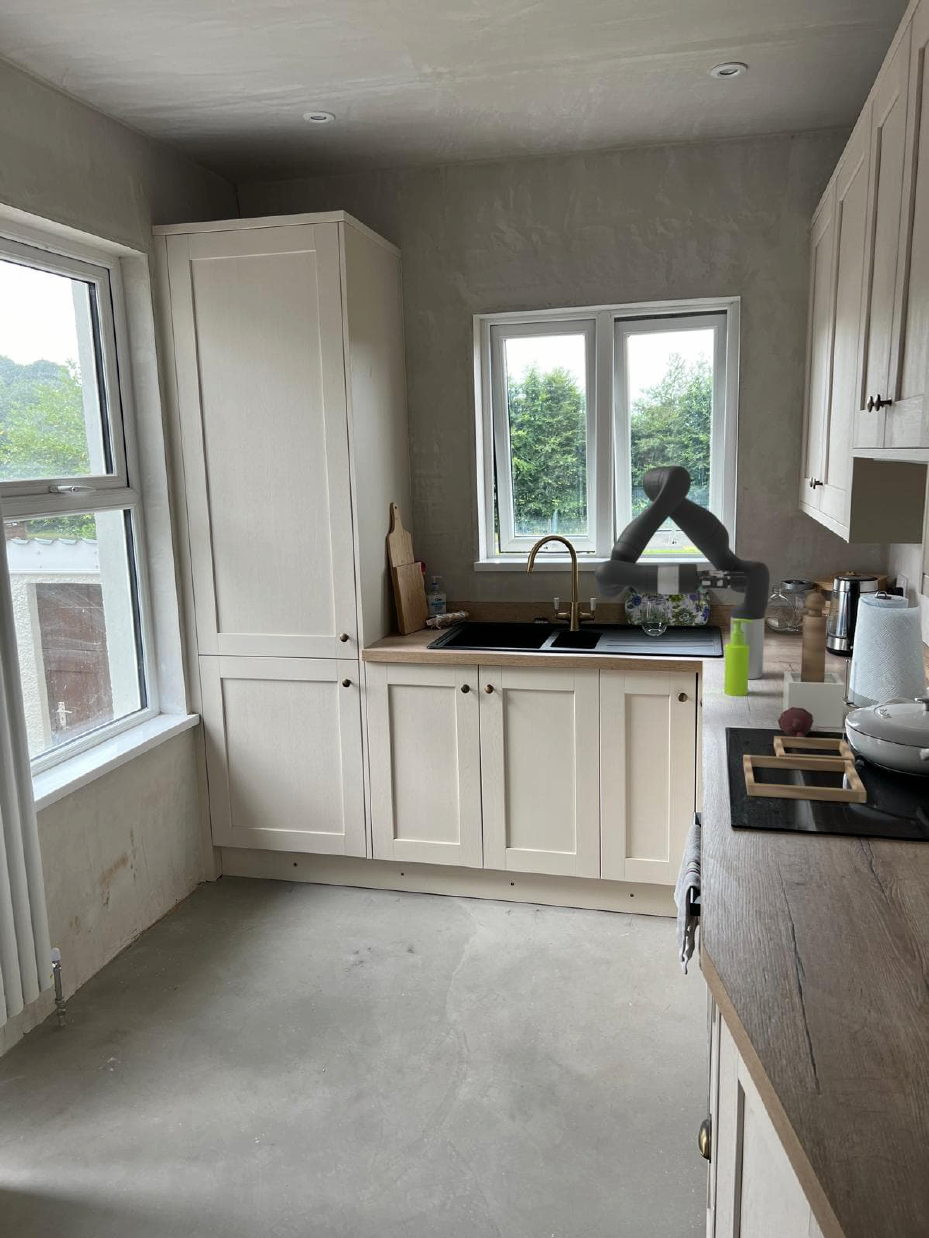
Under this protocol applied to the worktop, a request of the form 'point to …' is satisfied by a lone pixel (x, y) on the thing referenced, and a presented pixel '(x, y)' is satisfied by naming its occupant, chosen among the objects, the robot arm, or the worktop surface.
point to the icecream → (796, 722)
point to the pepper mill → (814, 640)
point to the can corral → (815, 744)
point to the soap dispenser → (737, 661)
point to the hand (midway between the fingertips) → (746, 579)
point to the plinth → (816, 698)
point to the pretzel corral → (804, 791)
